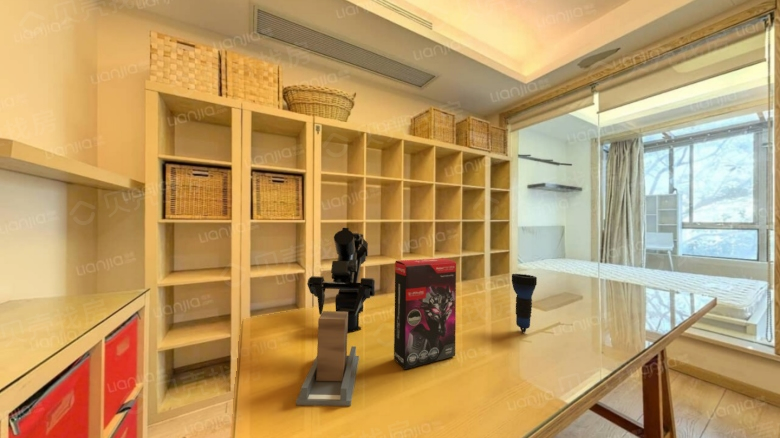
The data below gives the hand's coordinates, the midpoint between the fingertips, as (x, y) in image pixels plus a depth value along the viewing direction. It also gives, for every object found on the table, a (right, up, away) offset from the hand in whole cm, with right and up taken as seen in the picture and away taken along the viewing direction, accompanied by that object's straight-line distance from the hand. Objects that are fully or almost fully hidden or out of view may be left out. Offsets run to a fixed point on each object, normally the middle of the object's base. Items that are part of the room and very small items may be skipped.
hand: (337, 314), depth 70 cm
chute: (0, -12, -8) cm, 15 cm away
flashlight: (+61, -15, +24) cm, 67 cm away
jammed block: (0, -11, -8) cm, 14 cm away
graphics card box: (+23, -14, +3) cm, 27 cm away
